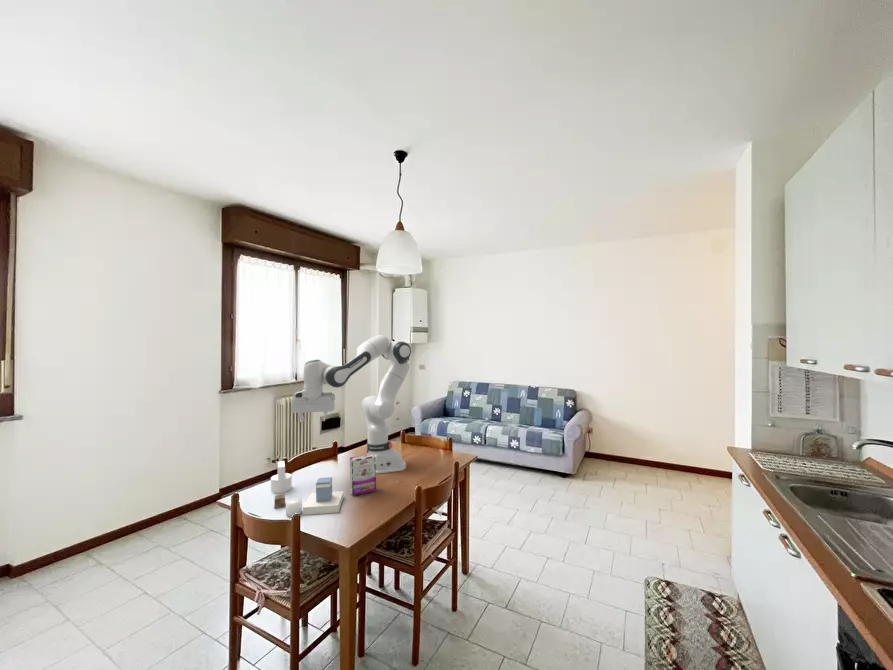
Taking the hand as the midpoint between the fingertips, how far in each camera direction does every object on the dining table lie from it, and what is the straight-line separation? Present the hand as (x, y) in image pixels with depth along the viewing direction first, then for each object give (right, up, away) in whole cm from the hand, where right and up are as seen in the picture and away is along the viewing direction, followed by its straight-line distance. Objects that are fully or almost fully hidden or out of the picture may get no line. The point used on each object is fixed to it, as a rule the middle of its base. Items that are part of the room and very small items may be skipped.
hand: (313, 421), depth 179 cm
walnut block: (-6, -31, -23) cm, 39 cm away
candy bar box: (+27, -31, -10) cm, 42 cm away
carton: (+13, -28, -24) cm, 39 cm away
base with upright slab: (-13, -31, -6) cm, 34 cm away
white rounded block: (+3, -31, -30) cm, 43 cm away
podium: (+13, -31, -24) cm, 41 cm away
